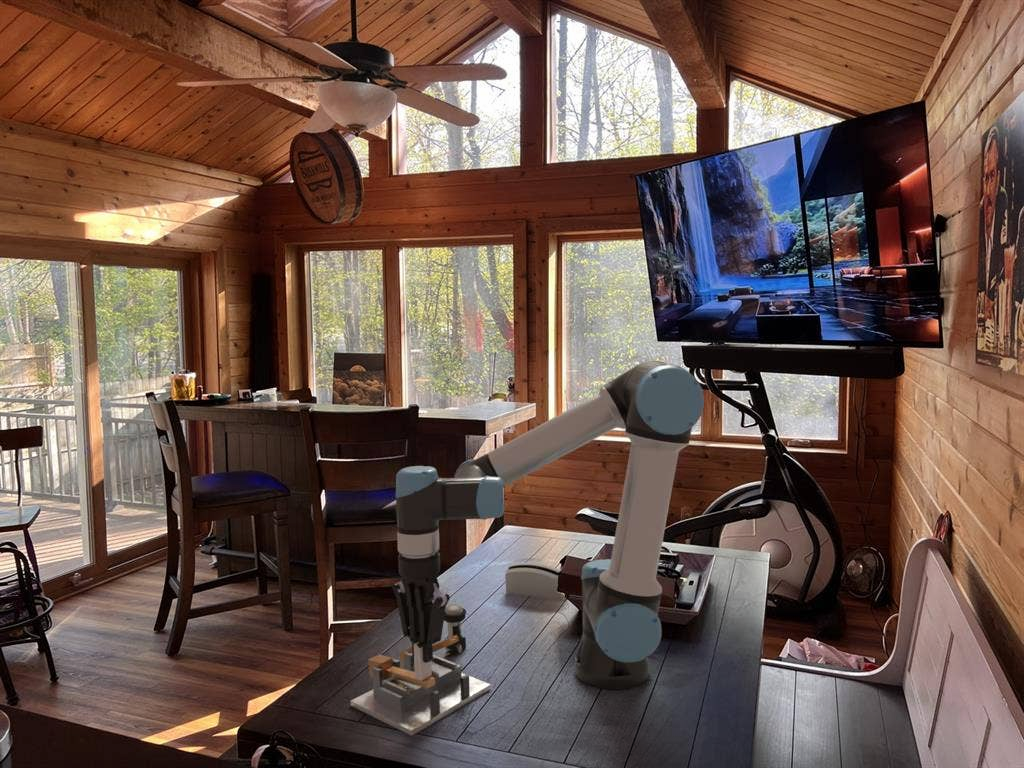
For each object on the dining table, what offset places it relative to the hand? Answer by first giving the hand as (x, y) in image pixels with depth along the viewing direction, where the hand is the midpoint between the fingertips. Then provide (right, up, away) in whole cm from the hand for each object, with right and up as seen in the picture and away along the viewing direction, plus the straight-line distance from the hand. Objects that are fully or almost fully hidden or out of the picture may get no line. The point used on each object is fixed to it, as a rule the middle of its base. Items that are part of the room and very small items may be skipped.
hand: (423, 676), depth 141 cm
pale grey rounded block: (+23, -2, +59) cm, 63 cm away
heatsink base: (-1, -7, +7) cm, 10 cm away
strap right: (+1, 0, +10) cm, 10 cm away
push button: (+3, -5, +26) cm, 27 cm away
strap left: (-4, -3, +4) cm, 7 cm away
